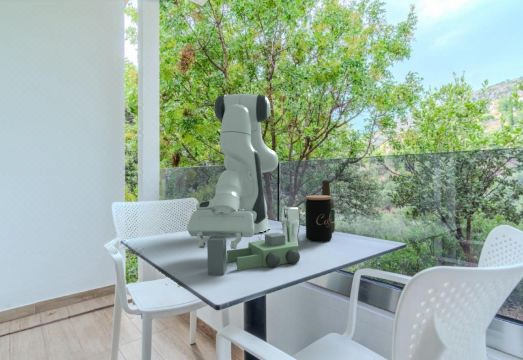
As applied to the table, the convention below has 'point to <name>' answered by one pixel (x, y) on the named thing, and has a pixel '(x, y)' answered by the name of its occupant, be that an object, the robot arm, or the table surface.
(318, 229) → the coffee jar
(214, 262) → the tall gray column
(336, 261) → the table surface
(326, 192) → the beer bottle
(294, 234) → the beer glass
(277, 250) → the green toy forklift
